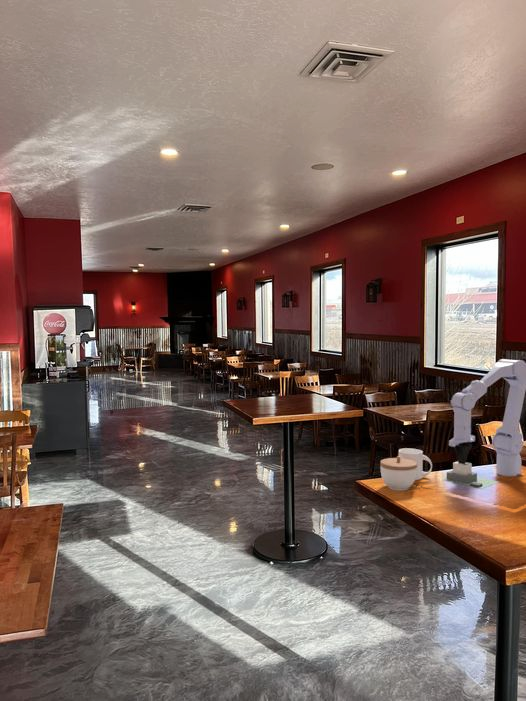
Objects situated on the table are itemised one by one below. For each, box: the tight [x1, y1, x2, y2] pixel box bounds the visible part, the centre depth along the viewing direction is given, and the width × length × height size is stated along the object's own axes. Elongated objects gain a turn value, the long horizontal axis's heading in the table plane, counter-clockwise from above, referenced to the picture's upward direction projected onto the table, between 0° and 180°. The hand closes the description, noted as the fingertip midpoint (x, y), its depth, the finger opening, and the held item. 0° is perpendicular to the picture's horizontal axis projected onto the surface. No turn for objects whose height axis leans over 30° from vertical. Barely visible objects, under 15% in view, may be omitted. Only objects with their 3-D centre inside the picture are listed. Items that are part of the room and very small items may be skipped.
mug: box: [398, 447, 433, 481], centre depth 205 cm, size 9×12×11 cm
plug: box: [452, 460, 473, 476], centre depth 203 cm, size 8×5×6 cm, turn 130°
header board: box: [442, 469, 500, 490], centre depth 201 cm, size 13×15×4 cm
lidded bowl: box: [379, 455, 417, 492], centre depth 195 cm, size 13×13×11 cm
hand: (461, 463), depth 202 cm, fingers closed, pressing on plug
